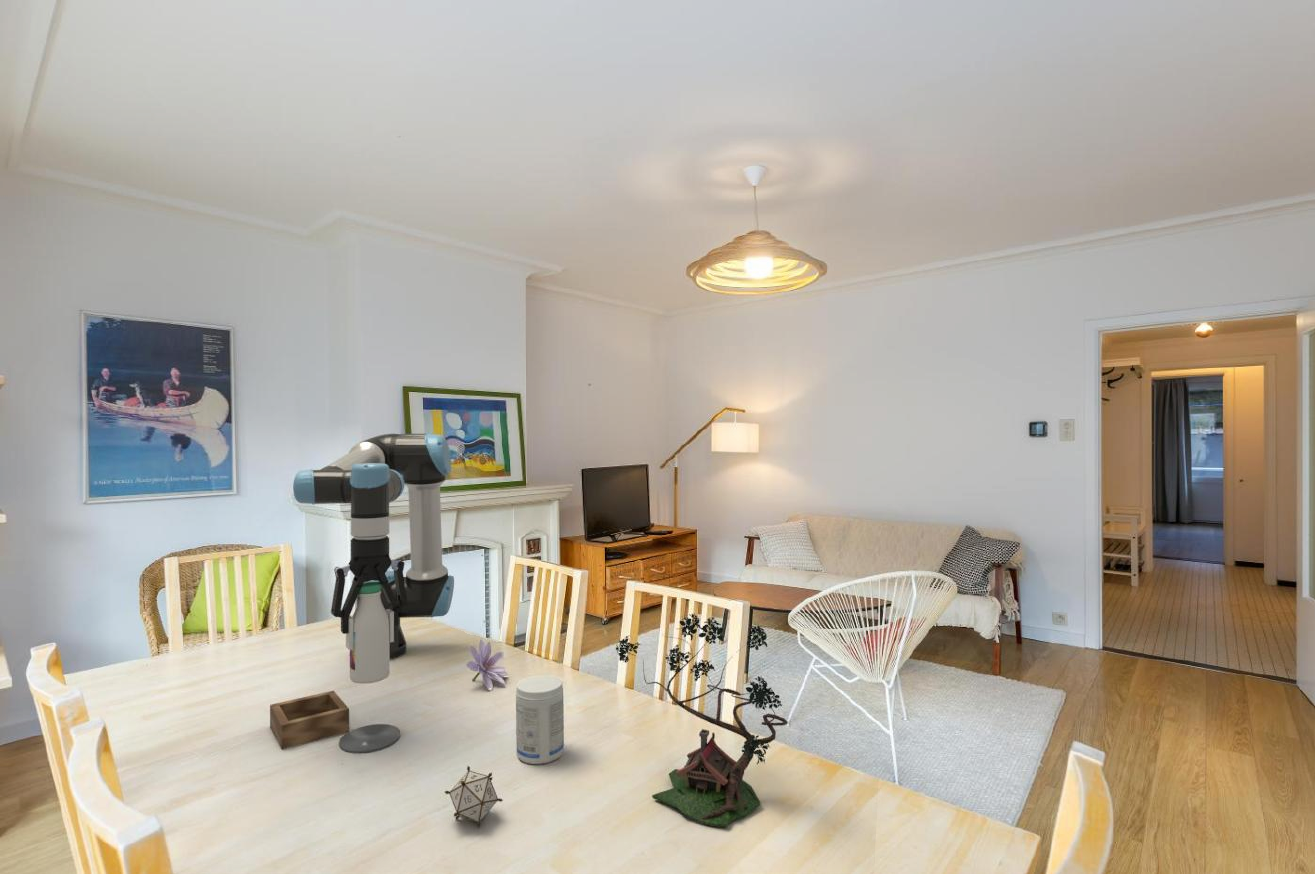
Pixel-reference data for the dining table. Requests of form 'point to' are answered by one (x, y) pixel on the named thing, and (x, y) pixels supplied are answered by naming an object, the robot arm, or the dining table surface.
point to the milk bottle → (370, 637)
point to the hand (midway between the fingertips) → (370, 644)
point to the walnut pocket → (308, 719)
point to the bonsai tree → (710, 773)
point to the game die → (473, 796)
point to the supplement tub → (539, 719)
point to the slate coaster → (369, 738)
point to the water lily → (487, 664)
